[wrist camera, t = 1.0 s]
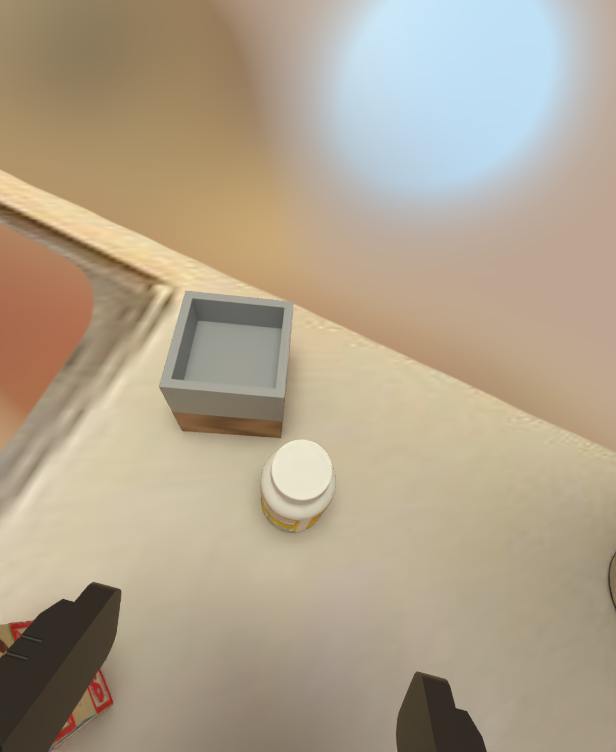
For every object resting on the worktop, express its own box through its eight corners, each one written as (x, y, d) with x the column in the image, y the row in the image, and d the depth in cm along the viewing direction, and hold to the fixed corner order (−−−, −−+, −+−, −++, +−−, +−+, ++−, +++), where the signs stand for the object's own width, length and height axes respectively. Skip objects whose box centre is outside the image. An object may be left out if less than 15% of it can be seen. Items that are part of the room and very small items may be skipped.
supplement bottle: (267, 539, 32) (266, 520, 23) (257, 474, 34) (253, 436, 26) (330, 525, 33) (352, 502, 24) (316, 463, 35) (331, 423, 27)
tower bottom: (287, 357, 41) (289, 331, 37) (280, 439, 36) (282, 420, 32) (200, 349, 40) (192, 323, 36) (182, 432, 36) (172, 412, 32)
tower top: (290, 332, 37) (293, 301, 33) (282, 421, 32) (284, 397, 28) (194, 323, 36) (185, 290, 32) (172, 411, 32) (159, 386, 28)
